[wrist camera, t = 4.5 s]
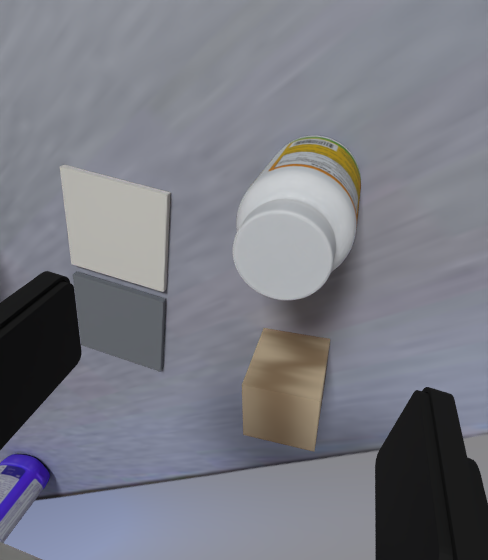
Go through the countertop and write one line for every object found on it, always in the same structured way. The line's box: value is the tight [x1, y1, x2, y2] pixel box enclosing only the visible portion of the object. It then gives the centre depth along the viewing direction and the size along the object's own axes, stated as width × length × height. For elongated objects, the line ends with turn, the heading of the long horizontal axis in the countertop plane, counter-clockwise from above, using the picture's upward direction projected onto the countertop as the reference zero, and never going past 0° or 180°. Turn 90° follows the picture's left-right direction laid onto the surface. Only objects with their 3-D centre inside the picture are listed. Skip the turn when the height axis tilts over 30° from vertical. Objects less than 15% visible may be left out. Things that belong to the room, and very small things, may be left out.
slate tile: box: [73, 272, 166, 372], centre depth 34 cm, size 8×8×1 cm
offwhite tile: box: [60, 165, 171, 292], centre depth 29 cm, size 8×8×1 cm
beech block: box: [242, 328, 330, 451], centre depth 28 cm, size 5×5×6 cm
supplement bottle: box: [233, 136, 361, 300], centre depth 19 cm, size 5×5×10 cm
